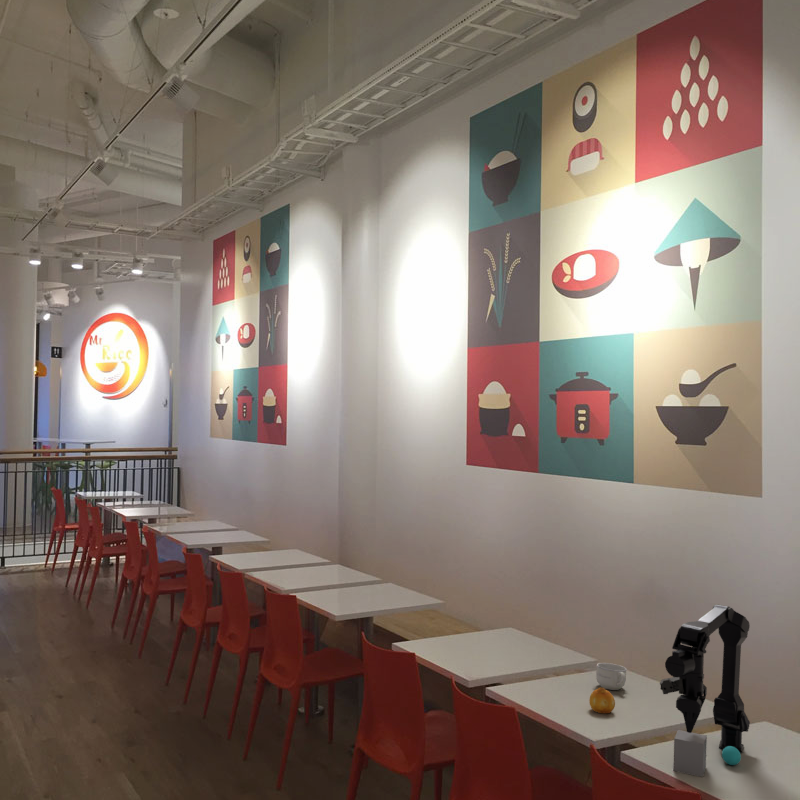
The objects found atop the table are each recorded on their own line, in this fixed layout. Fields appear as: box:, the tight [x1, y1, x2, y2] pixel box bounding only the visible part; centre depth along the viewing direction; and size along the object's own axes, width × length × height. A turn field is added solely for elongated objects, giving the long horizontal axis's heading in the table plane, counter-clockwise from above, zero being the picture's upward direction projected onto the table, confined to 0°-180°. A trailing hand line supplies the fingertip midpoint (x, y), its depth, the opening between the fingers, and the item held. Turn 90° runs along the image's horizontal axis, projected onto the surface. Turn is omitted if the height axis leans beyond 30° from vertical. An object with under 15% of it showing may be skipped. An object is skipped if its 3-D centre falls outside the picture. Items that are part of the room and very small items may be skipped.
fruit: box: [588, 687, 616, 714], centre depth 266 cm, size 8×8×8 cm
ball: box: [721, 746, 742, 766], centre depth 225 cm, size 5×5×5 cm
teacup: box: [595, 662, 628, 691], centre depth 290 cm, size 14×11×8 cm
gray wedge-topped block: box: [672, 729, 708, 777], centre depth 221 cm, size 8×8×9 cm
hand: (691, 727), depth 221 cm, fingers open, 9 cm apart
